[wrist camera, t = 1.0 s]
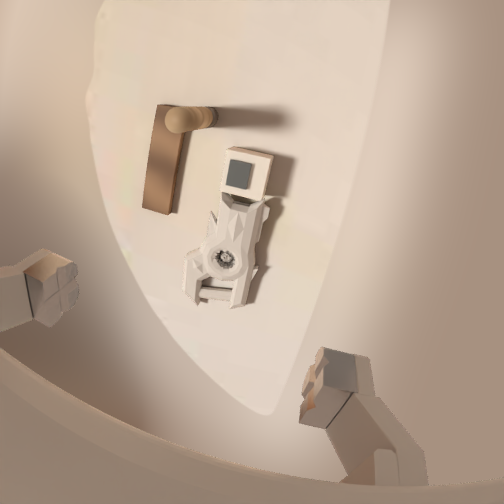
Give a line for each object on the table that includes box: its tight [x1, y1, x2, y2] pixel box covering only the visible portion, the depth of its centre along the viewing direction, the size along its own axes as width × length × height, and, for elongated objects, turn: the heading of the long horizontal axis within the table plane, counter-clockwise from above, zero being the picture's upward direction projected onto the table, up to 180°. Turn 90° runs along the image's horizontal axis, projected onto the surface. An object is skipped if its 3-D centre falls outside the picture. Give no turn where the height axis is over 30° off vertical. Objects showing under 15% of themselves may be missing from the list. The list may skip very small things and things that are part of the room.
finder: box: [219, 147, 274, 201], centre depth 36 cm, size 5×5×3 cm
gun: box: [182, 192, 270, 309], centre depth 41 cm, size 18×3×10 cm
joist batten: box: [142, 105, 185, 215], centre depth 38 cm, size 14×4×1 cm, turn 166°
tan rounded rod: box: [165, 107, 218, 133], centre depth 31 cm, size 3×3×9 cm
